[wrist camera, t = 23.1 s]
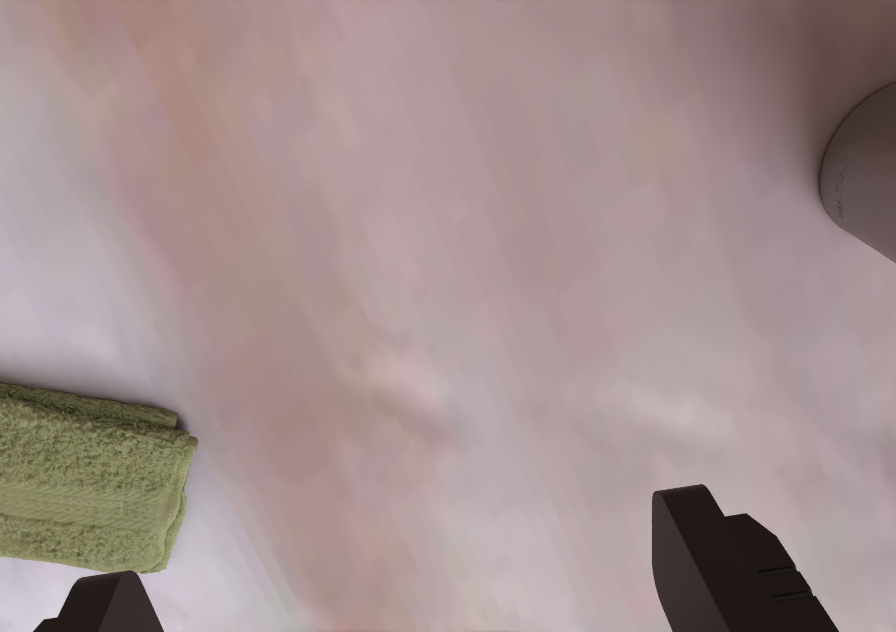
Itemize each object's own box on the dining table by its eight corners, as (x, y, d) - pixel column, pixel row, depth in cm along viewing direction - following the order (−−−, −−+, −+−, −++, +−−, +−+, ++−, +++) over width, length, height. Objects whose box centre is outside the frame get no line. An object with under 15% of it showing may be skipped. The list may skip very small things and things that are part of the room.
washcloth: (177, 561, 51) (165, 598, 48) (-102, 516, 47) (-133, 553, 45) (208, 410, 46) (196, 441, 43) (-104, 346, 42) (-140, 376, 39)
